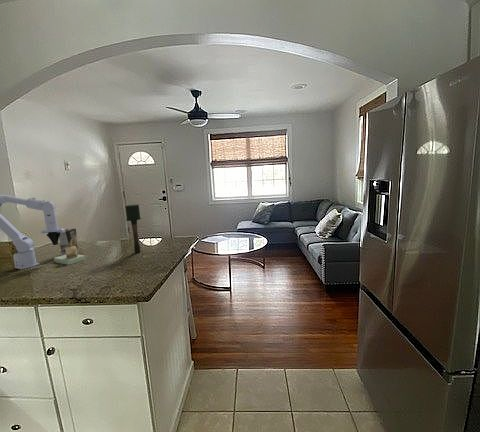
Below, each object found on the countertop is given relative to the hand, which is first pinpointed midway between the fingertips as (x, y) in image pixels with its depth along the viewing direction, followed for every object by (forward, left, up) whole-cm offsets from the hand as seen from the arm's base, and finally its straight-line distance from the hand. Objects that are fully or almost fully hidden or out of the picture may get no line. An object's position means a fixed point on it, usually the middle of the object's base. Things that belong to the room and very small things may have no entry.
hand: (55, 244), depth 164 cm
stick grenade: (+31, -33, -11) cm, 46 cm away
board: (+4, -6, -10) cm, 12 cm away
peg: (+4, -9, -10) cm, 14 cm away
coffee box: (+13, +9, -11) cm, 19 cm away
